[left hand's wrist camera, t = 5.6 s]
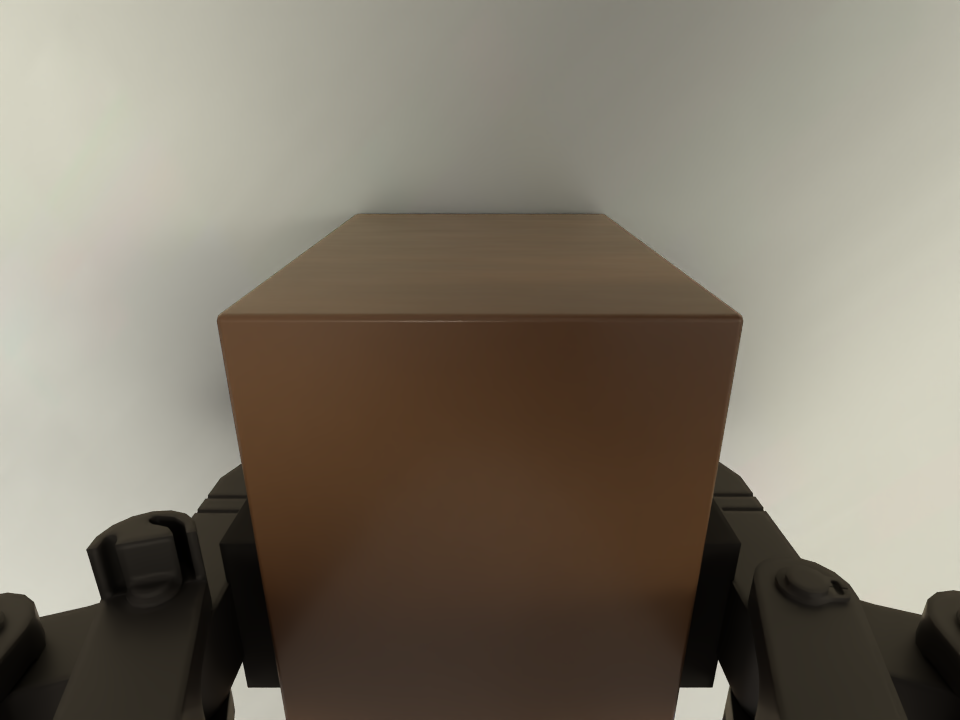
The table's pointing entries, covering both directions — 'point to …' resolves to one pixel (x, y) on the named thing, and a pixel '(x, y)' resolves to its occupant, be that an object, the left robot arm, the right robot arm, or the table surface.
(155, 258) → the table surface
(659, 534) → the post
